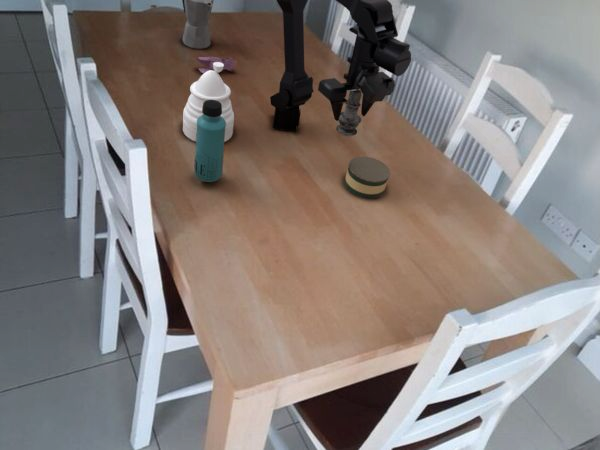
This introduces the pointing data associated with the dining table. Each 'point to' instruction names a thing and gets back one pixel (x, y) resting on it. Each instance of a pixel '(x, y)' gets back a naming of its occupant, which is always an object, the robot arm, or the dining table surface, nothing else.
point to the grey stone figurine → (350, 115)
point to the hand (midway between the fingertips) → (349, 117)
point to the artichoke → (210, 60)
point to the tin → (367, 177)
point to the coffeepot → (197, 23)
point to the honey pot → (202, 91)
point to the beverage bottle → (210, 142)
